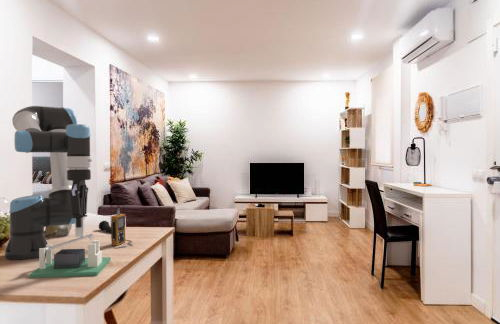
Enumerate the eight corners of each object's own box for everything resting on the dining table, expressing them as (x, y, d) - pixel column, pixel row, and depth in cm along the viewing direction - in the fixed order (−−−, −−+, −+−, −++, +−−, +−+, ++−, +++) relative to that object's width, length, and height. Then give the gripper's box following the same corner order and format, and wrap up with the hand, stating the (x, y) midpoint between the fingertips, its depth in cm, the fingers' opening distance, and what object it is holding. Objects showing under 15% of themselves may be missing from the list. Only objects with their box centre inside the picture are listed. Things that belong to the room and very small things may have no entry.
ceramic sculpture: (74, 218, 184) (39, 223, 174) (75, 235, 184) (41, 242, 175) (68, 215, 192) (35, 220, 183) (69, 232, 193) (36, 238, 183)
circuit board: (29, 277, 122) (29, 250, 122) (51, 262, 140) (51, 238, 140) (97, 275, 125) (97, 248, 124) (110, 260, 142) (110, 236, 142)
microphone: (119, 240, 189) (104, 230, 203) (123, 230, 190) (108, 220, 203) (110, 238, 186) (95, 228, 199) (114, 228, 186) (99, 218, 200)
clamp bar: (42, 255, 129) (40, 249, 129) (46, 252, 133) (45, 246, 133) (91, 239, 131) (89, 234, 131) (94, 237, 135) (92, 231, 135)
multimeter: (128, 249, 160) (128, 202, 159) (106, 248, 161) (106, 201, 161) (144, 241, 174) (143, 198, 174) (124, 240, 176) (123, 197, 175)
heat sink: (53, 269, 128) (53, 254, 127) (62, 262, 136) (62, 249, 135) (78, 268, 129) (78, 254, 129) (85, 261, 137) (85, 248, 136)
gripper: (84, 169, 126) (85, 239, 126) (95, 168, 139) (96, 232, 139) (60, 169, 125) (62, 240, 125) (73, 168, 138) (75, 233, 138)
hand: (80, 236), depth 132 cm, fingers closed
